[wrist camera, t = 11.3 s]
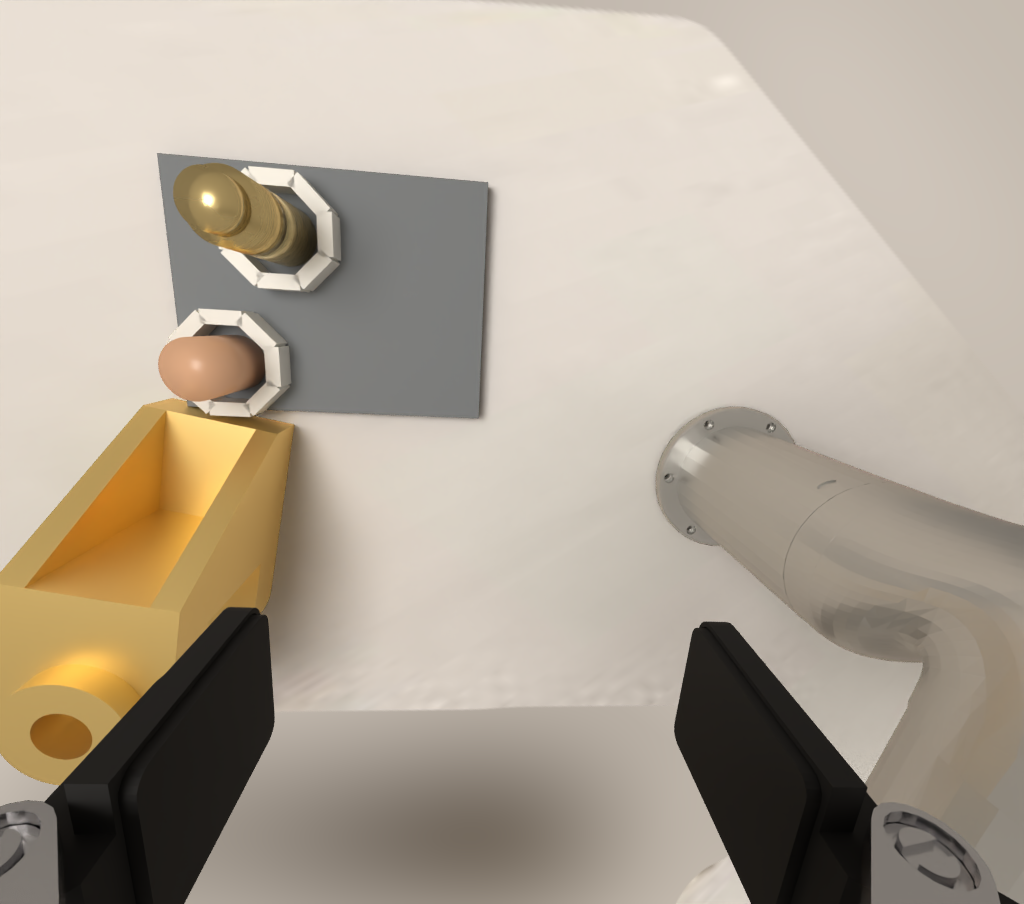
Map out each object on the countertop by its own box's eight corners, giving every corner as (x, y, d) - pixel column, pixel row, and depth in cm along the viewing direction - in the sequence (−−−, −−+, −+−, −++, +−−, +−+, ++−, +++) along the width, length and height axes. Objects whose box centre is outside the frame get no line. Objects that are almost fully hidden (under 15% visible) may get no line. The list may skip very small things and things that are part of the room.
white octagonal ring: (338, 182, 33) (330, 173, 31) (342, 294, 34) (334, 292, 33) (226, 172, 32) (210, 162, 30) (236, 287, 34) (222, 285, 32)
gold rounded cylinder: (315, 207, 33) (244, 156, 23) (318, 268, 34) (251, 245, 24) (255, 202, 33) (156, 149, 22) (260, 264, 34) (168, 239, 23)
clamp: (265, 635, 43) (147, 811, 27) (155, 618, 41) (-32, 792, 26) (294, 424, 38) (172, 493, 23) (172, 398, 37) (-45, 451, 21)
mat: (487, 187, 34) (488, 182, 33) (478, 415, 39) (478, 418, 38) (168, 159, 32) (157, 153, 31) (196, 403, 37) (187, 406, 36)
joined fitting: (287, 313, 35) (249, 311, 29) (293, 413, 36) (259, 430, 31) (180, 307, 34) (120, 304, 28) (191, 409, 36) (137, 425, 30)
